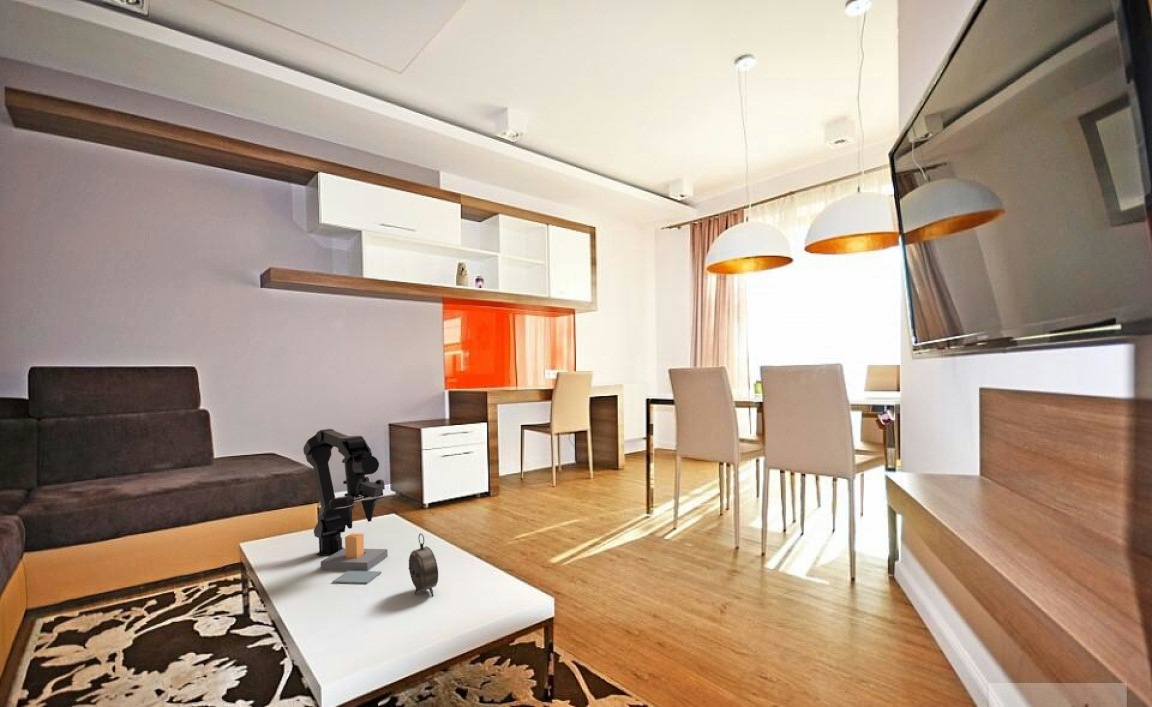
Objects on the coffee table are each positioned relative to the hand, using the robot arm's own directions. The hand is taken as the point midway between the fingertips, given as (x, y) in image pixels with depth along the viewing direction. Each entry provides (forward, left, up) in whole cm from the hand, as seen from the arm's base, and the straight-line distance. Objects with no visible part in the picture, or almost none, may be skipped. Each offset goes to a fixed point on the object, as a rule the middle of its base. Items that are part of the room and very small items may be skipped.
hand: (360, 524), depth 167 cm
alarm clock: (+30, -18, -13) cm, 37 cm away
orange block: (-3, +2, -13) cm, 13 cm away
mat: (+5, -10, -13) cm, 17 cm away
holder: (-3, +2, -13) cm, 13 cm away
